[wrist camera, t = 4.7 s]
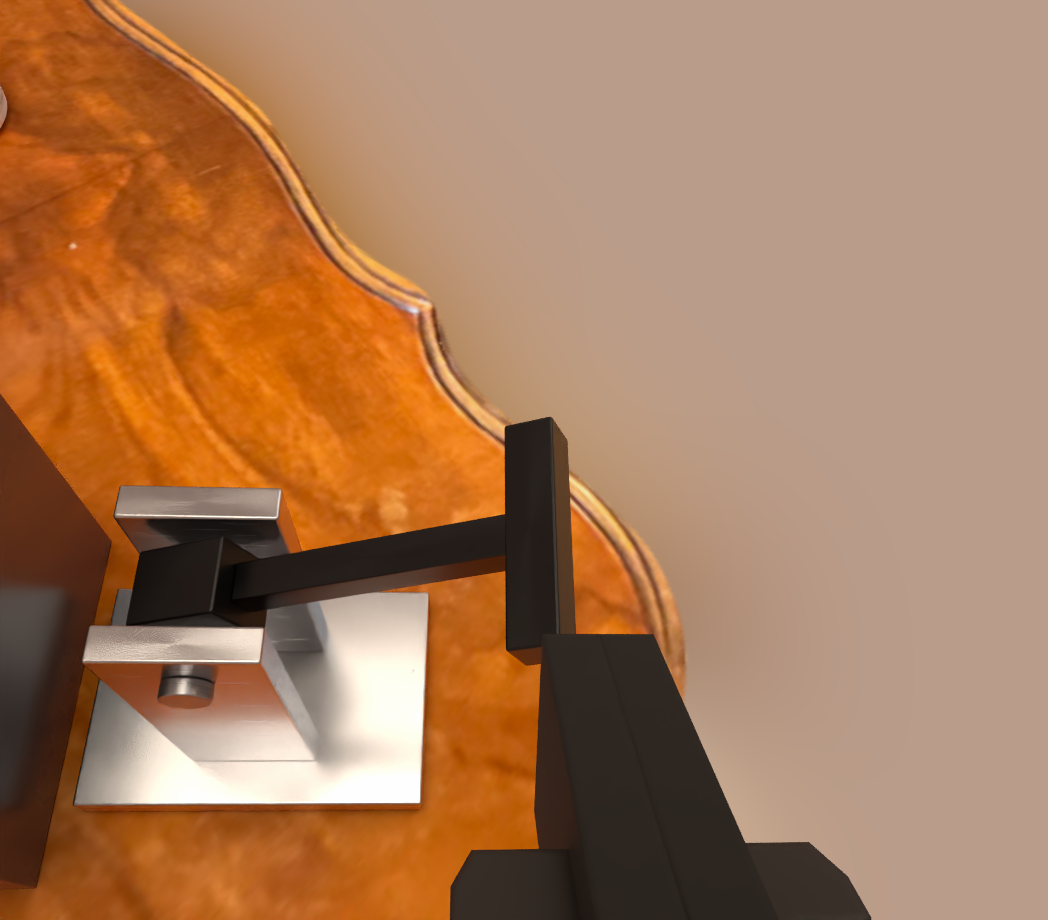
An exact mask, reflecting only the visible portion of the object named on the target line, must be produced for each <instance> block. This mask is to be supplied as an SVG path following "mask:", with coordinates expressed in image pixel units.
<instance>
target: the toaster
mask: <svg viewBox="0 0 1048 920" xmlns="http://www.w3.org/2000/svg"><path fill="white" fill-rule="evenodd" d="M110 545H111V540H110V539H109V537H108V536H107V535H106V533H105V532H104V531H103V529H102V528H101V527H100V525H99V524H98V523H97V521H96V520H95V519H94V517H93V516H92V515H91V513H90V512H89V511H88V509H87V508H86V507H85V505H84V504H83V503H82V501H81V500H80V499H79V497H78V496H77V495H76V493H75V492H74V491H73V490H72V488H71V487H70V486H69V484H68V483H67V482H66V480H65V479H64V478H63V476H62V475H61V474H60V472H59V471H58V470H57V468H56V467H55V466H54V464H53V463H52V462H51V460H50V459H49V458H48V456H47V455H46V454H45V452H44V451H43V450H42V448H41V447H40V446H39V444H38V443H37V442H36V440H35V439H34V438H33V436H32V435H31V434H30V433H29V431H28V430H27V429H26V427H25V426H24V425H23V423H22V422H21V421H20V419H19V418H18V417H17V415H16V414H15V413H14V411H13V410H12V409H11V407H10V406H9V405H8V403H7V402H6V401H5V399H4V398H3V397H2V395H1V394H0V889H28V888H35V887H36V883H37V879H38V874H39V870H40V865H41V861H42V856H43V851H44V847H45V842H46V838H47V833H48V829H49V824H50V819H51V815H52V810H53V806H54V801H55V797H56V792H57V787H58V783H59V778H60V774H61V769H62V765H63V760H64V755H65V751H66V746H67V742H68V737H69V733H70V728H71V723H72V719H73V714H74V710H75V705H76V701H77V696H78V691H79V687H80V682H81V678H82V673H83V669H84V665H83V664H82V662H81V660H82V655H83V651H84V646H85V642H86V637H87V633H88V628H89V626H92V625H93V623H94V618H95V614H96V609H97V604H98V600H99V595H100V591H101V586H102V582H103V577H104V572H105V568H106V563H107V559H108V554H109V550H110Z"/></svg>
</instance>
